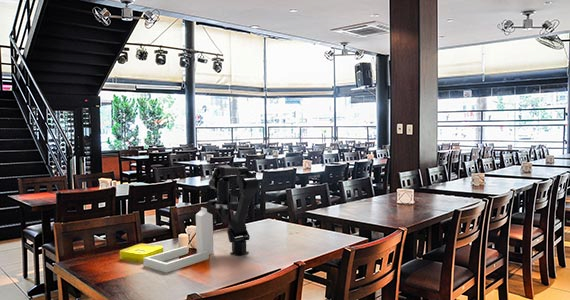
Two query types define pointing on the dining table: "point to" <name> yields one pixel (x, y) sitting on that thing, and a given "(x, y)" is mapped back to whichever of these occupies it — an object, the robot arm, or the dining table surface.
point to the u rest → (157, 259)
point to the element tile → (140, 252)
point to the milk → (204, 231)
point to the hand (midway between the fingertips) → (224, 221)
